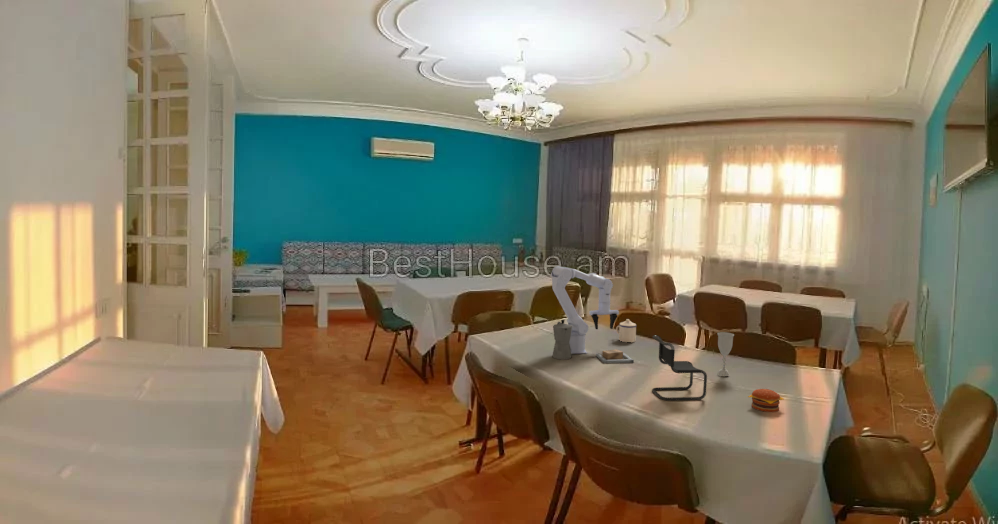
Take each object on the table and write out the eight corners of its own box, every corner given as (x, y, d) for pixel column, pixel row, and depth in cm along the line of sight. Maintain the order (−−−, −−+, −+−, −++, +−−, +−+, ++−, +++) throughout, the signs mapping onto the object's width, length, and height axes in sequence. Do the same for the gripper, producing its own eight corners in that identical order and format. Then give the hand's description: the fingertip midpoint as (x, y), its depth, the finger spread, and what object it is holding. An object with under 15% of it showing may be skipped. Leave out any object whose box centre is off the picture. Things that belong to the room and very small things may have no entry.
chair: (648, 389, 225) (651, 334, 222) (691, 389, 226) (694, 334, 224) (661, 401, 212) (664, 343, 210) (706, 400, 213) (709, 342, 211)
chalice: (733, 378, 241) (735, 336, 239) (716, 377, 243) (718, 335, 241) (730, 373, 248) (732, 332, 247) (713, 372, 250) (715, 331, 248)
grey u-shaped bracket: (604, 363, 262) (604, 360, 262) (596, 356, 274) (596, 353, 274) (633, 362, 263) (633, 360, 263) (624, 355, 276) (624, 353, 276)
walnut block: (608, 361, 265) (608, 353, 265) (602, 359, 270) (602, 350, 269) (622, 360, 268) (622, 351, 268) (616, 357, 273) (616, 349, 272)
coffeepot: (575, 360, 265) (576, 322, 264) (555, 361, 264) (556, 322, 262) (566, 352, 281) (567, 316, 279) (548, 352, 279) (548, 316, 278)
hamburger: (759, 401, 213) (760, 384, 212) (784, 409, 205) (786, 391, 205) (745, 406, 207) (746, 388, 207) (770, 414, 200) (772, 396, 199)
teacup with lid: (639, 341, 305) (640, 319, 304) (628, 343, 300) (629, 321, 298) (621, 337, 315) (622, 316, 313) (610, 339, 309) (611, 318, 308)
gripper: (615, 300, 290) (615, 326, 291) (588, 301, 288) (587, 327, 289) (620, 302, 283) (619, 329, 284) (591, 303, 281) (591, 330, 282)
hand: (603, 328), depth 286 cm, fingers open, 7 cm apart
